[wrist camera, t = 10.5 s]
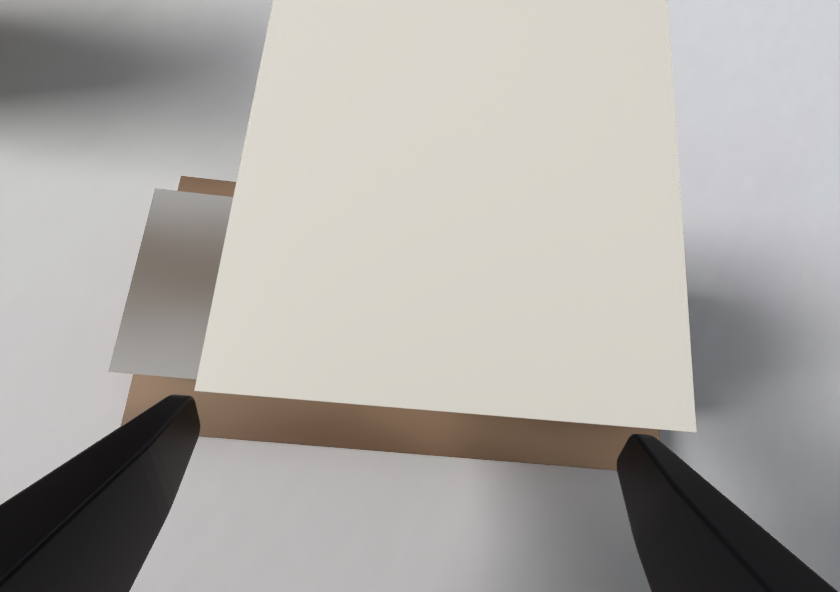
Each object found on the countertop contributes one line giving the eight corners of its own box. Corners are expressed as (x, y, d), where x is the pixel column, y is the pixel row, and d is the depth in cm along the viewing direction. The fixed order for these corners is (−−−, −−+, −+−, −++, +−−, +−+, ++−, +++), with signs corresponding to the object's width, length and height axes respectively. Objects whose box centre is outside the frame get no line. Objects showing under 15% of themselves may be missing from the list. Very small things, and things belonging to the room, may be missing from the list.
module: (470, 402, 16) (697, 432, 4) (338, 391, 16) (194, 390, 4) (478, 249, 17) (664, -45, 6) (357, 236, 17) (292, -99, 5)
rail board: (638, 466, 17) (722, 492, 13) (144, 426, 16) (54, 439, 12) (630, 241, 20) (700, 198, 15) (197, 193, 19) (138, 131, 14)
